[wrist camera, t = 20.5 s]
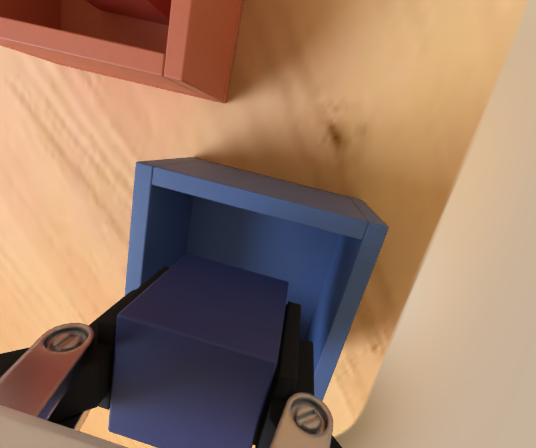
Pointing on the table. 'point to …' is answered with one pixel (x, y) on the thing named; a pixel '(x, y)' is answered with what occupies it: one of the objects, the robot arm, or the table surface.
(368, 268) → the blue bin
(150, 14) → the terracotta block
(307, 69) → the table surface
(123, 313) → the navy block
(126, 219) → the table surface
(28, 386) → the robot arm
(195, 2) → the terracotta bin
